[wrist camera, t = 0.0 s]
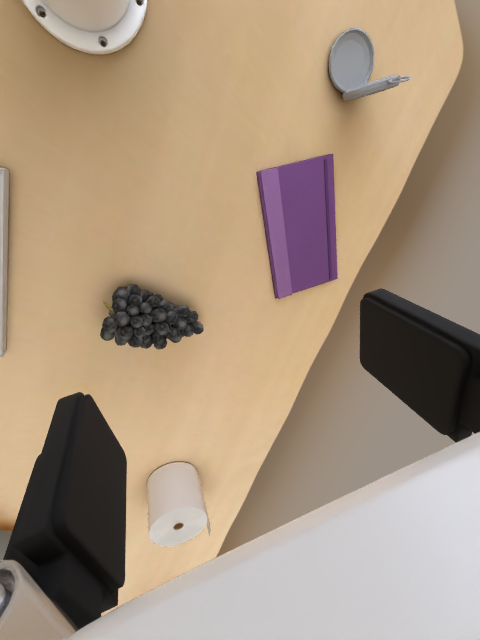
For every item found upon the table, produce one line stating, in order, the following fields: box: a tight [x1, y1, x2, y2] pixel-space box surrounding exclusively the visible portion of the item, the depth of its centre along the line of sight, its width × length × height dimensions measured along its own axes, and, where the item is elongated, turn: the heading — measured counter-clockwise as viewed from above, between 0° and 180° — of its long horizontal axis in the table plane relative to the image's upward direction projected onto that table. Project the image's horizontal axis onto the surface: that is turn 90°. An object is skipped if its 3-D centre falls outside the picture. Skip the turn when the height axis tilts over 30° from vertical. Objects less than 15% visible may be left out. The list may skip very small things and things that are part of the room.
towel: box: [257, 154, 337, 299], centre depth 48 cm, size 20×12×1 cm, turn 12°
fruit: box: [100, 284, 203, 349], centre depth 44 cm, size 9×8×15 cm
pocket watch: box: [329, 28, 411, 101], centre depth 37 cm, size 8×8×10 cm
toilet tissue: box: [146, 462, 210, 547], centre depth 60 cm, size 11×12×10 cm
